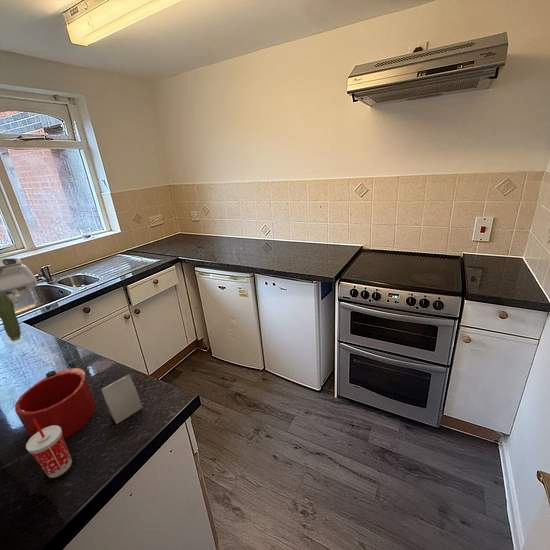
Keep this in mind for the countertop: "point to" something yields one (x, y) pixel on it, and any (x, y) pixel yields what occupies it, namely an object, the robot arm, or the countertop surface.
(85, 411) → the pot
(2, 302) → the vegetable
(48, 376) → the lid
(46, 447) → the beverage cup
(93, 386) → the countertop surface
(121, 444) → the countertop surface
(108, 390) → the grey rectangular block
